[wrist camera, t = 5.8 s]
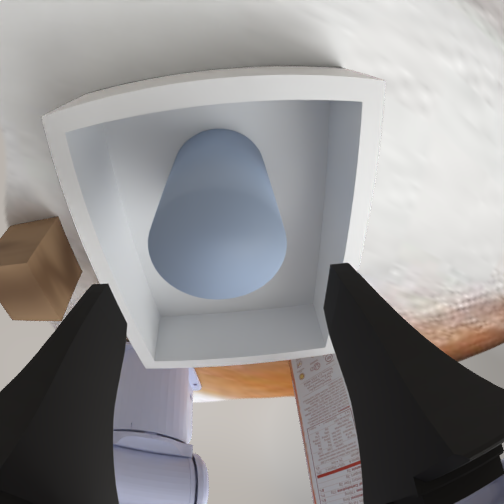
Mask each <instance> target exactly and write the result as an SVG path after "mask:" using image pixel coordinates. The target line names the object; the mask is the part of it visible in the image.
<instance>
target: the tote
mask: <svg viewBox="0 0 504 504" xmlns="http://www.w3.org/2000/svg"><path fill="white" fill-rule="evenodd" d="M385 87H386V80H383V79H379V78H376V77H373V76H370V75H367V74H363V73H360V72H356V71H353V70H349V69H345V68H337V67H318V66H259V67H240V68H226V69H215V70H206V71H197V72H189V73H182V74H175V75H169V76H163V77H157V78H152V79H147V80H142V81H137V82H132V83H127V84H123V85H119V86H115V87H110V88H106V89H103V90H99V91H95V92H91V93H88V94H85V95H83V96H81V97H79V98H77V99H75V100H72V101H70V102H68V103H66V104H64V105H62V106H61V107H59V108H57V109H55V110H53V111H51V112H49V113H47V114H46V115H44V116H42V117H41V118H42V122H43V126H44V131H45V134H46V138H47V142H48V146H49V149H50V153H51V156H52V160H53V163H54V167H55V170H56V173H57V176H58V179H59V183H60V186H61V189H62V192H63V194H64V197H65V200H66V203H67V206H68V209H69V211H70V214H71V217H72V219H73V222H74V225H75V227H76V230H77V232H78V235H79V237H80V240H81V242H82V245H83V247H84V249H85V252H86V254H87V256H88V259H89V261H90V263H91V265H92V268H93V270H94V272H95V274H96V276H97V279H98V281H99V283H100V284H107V283H108V284H109V287H110V289H111V291H112V293H113V295H114V297H115V299H116V302H117V304H118V306H119V308H120V310H121V312H122V314H123V316H124V318H125V320H126V322H127V335H126V336H127V337H128V339H129V341H130V343H131V344H132V346H133V348H134V350H135V351H136V353H137V355H138V356H139V358H140V360H141V362H142V363H143V365H144V366H145V368H146V369H152V368H195V367H214V366H230V365H243V364H254V363H264V362H274V361H283V360H291V359H299V358H306V357H314V356H320V355H327V354H333V353H335V351H334V348H333V345H332V342H331V339H330V336H329V332H328V328H327V323H326V318H325V313H324V309H323V307H324V301H325V295H326V289H327V282H328V276H329V269H330V264H340V263H349V264H350V265H351V266H352V267H353V268H354V269H355V270H356V271H357V272H358V271H359V266H360V262H361V257H362V253H363V248H364V243H365V238H366V233H367V228H368V222H369V217H370V211H371V206H372V200H373V194H374V187H375V181H376V174H377V167H378V159H379V151H380V143H381V134H382V124H383V114H384V101H385ZM210 129H228V130H232V131H236V132H238V133H241V134H242V135H244V136H246V137H247V138H249V139H250V140H251V141H252V142H253V143H254V144H255V145H256V146H257V148H258V149H259V151H260V153H261V155H262V158H263V161H264V164H265V167H266V170H267V173H268V177H269V180H270V183H271V186H272V190H273V193H274V196H275V199H276V203H277V206H278V209H279V213H280V216H281V219H282V223H283V226H284V229H285V233H286V239H287V249H286V255H285V258H284V261H283V263H282V265H281V267H280V269H279V270H278V272H277V273H276V274H275V275H274V277H273V278H272V279H271V280H270V281H268V282H267V283H266V284H265V285H263V286H262V287H260V288H259V289H257V290H255V291H253V292H251V293H249V294H246V295H243V296H240V297H236V298H231V299H204V298H199V297H195V296H192V295H189V294H186V293H184V292H182V291H180V290H178V289H176V288H174V287H173V286H171V285H170V284H169V283H168V282H166V281H165V280H164V279H163V278H162V277H161V276H160V275H159V273H158V272H157V270H156V269H155V267H154V265H153V263H152V261H151V258H150V256H149V250H148V237H149V232H150V229H151V225H152V222H153V219H154V216H155V213H156V210H157V207H158V205H159V202H160V199H161V196H162V193H163V190H164V188H165V185H166V182H167V179H168V177H169V174H170V171H171V169H172V166H173V163H174V161H175V158H176V156H177V153H178V152H179V150H180V148H181V147H182V146H183V144H184V143H185V142H186V141H187V140H189V139H190V138H191V137H193V136H194V135H196V134H198V133H200V132H203V131H206V130H210Z"/></svg>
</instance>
